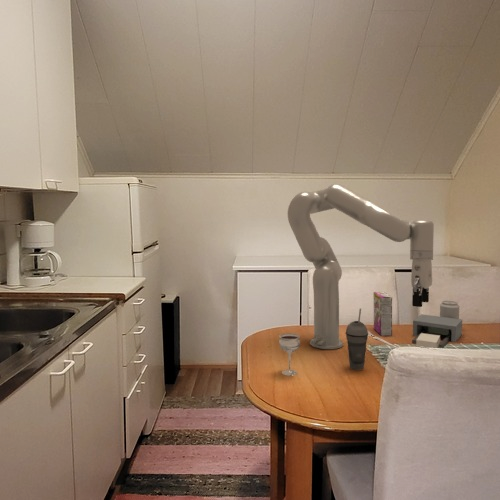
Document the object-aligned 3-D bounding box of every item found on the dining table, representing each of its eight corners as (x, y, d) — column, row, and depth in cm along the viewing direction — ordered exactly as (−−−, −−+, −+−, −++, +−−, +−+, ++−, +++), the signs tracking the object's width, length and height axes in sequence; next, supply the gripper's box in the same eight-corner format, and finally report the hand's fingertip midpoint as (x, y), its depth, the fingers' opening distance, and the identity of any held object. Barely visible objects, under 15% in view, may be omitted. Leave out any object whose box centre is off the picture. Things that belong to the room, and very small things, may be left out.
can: (440, 331, 177) (441, 303, 176) (438, 326, 184) (439, 299, 183) (460, 332, 175) (461, 304, 174) (457, 327, 182) (457, 300, 181)
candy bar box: (372, 328, 183) (373, 291, 181) (384, 328, 183) (384, 291, 181) (380, 336, 172) (380, 296, 170) (392, 336, 171) (392, 296, 170)
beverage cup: (351, 362, 143) (351, 304, 141) (371, 366, 138) (372, 307, 137) (341, 368, 137) (341, 308, 136) (362, 373, 133) (362, 311, 131)
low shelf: (449, 349, 154) (450, 332, 153) (405, 341, 164) (405, 326, 163) (461, 334, 172) (462, 319, 171) (421, 328, 181) (421, 314, 181)
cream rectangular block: (436, 350, 154) (436, 342, 154) (416, 347, 158) (416, 339, 158) (440, 343, 163) (440, 335, 162) (421, 340, 166) (421, 333, 166)
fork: (396, 351, 155) (396, 346, 155) (362, 335, 174) (362, 331, 174) (402, 350, 157) (403, 345, 156) (369, 334, 175) (369, 330, 175)
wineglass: (274, 372, 135) (274, 336, 134) (288, 367, 140) (288, 331, 139) (291, 378, 130) (290, 340, 129) (304, 372, 135) (304, 336, 134)
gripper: (426, 258, 138) (425, 310, 140) (438, 253, 152) (437, 300, 154) (403, 257, 143) (402, 307, 145) (417, 252, 157) (416, 298, 158)
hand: (420, 303), depth 149 cm, fingers open, 7 cm apart
